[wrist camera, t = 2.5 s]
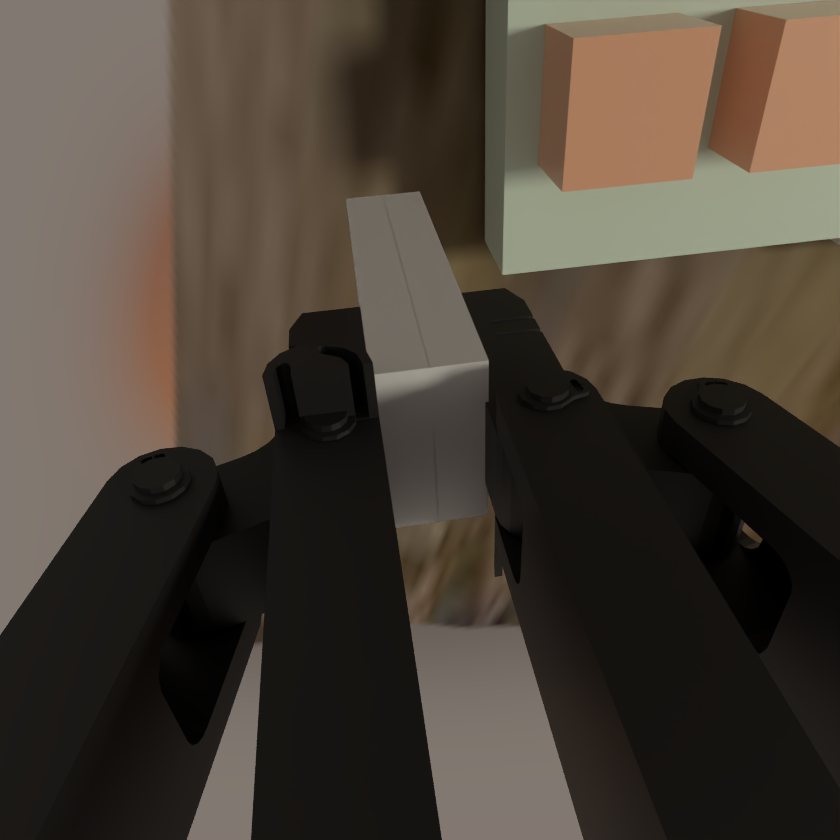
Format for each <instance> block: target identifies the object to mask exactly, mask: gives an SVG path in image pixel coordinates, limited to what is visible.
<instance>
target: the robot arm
mask: <svg viewBox="0 0 840 840" xmlns="http://www.w3.org/2000/svg"><path fill="white" fill-rule="evenodd" d="M346 203H347V211H348V219H349V227H350V235H351V243H352V251H353V259H354V267H355V275H356V283H357V291H358V299H359V307H354V308H345V309H337V310H328V311H319V312H310V313H302V314H301V316H300V317H299V318H298V319H297V321H296V322H295V323H294V325H293V326H292V327H291V328H290V330H289V350H287V351H285V352H282V353H280V354H279V355H278V356H276V357H275V358H274V359H273V360H272V361H271V362H269V363H268V364H267V366H266V369H265V371H264V373H263V375H262V377H263V381H264V385H265V389H266V394H267V398H268V402H269V406H270V410H271V414H272V419H273V423H274V427H275V437H274V438H273V439H272V440H271V441H270V442H269V443H267V444H266V445H264V446H263V447H261V448H260V449H258V450H257V451H255V452H252V453H250V454H248V455H246V456H243V457H241V458H238V459H235V460H232V461H230V462H227V463H224V464H221V465H218V466H216V465H215V462H214V460H213V458H212V457H210V456H209V455H207V454H206V453H204V452H202V451H201V450H198V449H192V448H186V447H175V448H165V449H159V450H156V451H153V452H150V453H148V454H144V455H141V456H139V457H137V458H136V459H134V460H132V461H131V462H129V463H127V464H126V465H124V466H122V467H121V468H120V469H119V470H118V471H117V472H116V473H115V474H114V475H113V476H112V477H111V478H110V479H109V480H108V481H107V482H106V484H105V485H104V487H103V488H102V489H101V491H100V492H99V494H98V495H97V497H96V498H95V500H94V501H93V503H92V504H91V505H90V507H89V508H88V510H87V511H86V512H85V514H84V515H83V517H82V518H81V520H80V521H79V523H78V524H77V525H76V527H75V528H74V530H73V531H72V533H71V534H70V536H69V537H68V539H67V540H66V541H65V543H64V544H63V546H62V547H61V549H60V550H59V552H58V553H57V554H56V556H55V557H54V559H53V560H52V561H51V563H50V564H49V566H48V567H47V569H46V570H45V571H44V573H43V574H42V576H41V578H40V579H39V580H38V582H37V583H36V584H35V586H34V587H33V589H32V590H31V592H30V593H29V595H28V596H27V597H26V599H25V600H24V602H23V603H22V605H21V606H20V608H19V609H18V610H17V612H16V613H15V615H14V616H13V618H12V619H11V620H10V622H9V623H8V625H7V626H6V628H5V629H4V631H3V632H2V633H1V635H0V840H187V837H188V834H189V831H190V828H191V825H192V822H193V820H194V816H195V814H196V810H197V808H198V805H199V802H200V799H201V796H202V793H203V790H204V788H205V784H206V782H207V779H208V776H209V773H210V770H211V767H212V764H213V761H214V758H215V756H216V752H217V750H218V746H219V744H220V741H221V738H222V735H223V732H224V729H225V726H226V723H227V721H228V717H229V715H230V712H231V709H232V706H233V703H234V700H235V697H236V694H237V691H238V688H239V685H240V683H241V680H242V677H243V674H244V671H245V668H246V665H247V662H248V659H249V657H250V654H251V651H252V648H253V645H254V642H255V639H256V636H257V633H258V630H259V627H260V625H261V616H262V614H263V613H265V614H264V630H263V647H262V664H261V682H260V699H259V715H258V732H257V750H256V766H255V784H254V800H253V817H252V835H251V840H442V838H441V831H440V824H439V818H438V811H437V804H436V797H435V791H434V785H433V777H432V770H431V763H430V757H429V750H428V743H427V737H426V730H425V723H424V716H423V709H422V703H421V696H420V690H419V682H418V676H417V669H416V662H415V656H414V648H413V642H412V635H411V628H410V621H409V615H408V608H407V601H406V594H405V588H404V581H403V574H402V567H401V561H400V554H399V547H398V540H397V534H396V528H397V527H404V526H411V525H419V524H426V523H433V522H440V521H448V520H455V519H462V518H469V517H476V516H484V515H488V493H489V496H490V499H491V502H492V505H493V508H494V512H495V555H494V569H495V577H497V576H502V566H503V569H504V573H505V576H506V579H507V583H508V586H509V590H510V593H511V596H512V600H513V603H514V606H515V610H516V613H517V617H518V620H519V623H520V627H521V630H522V633H523V637H524V640H525V644H526V647H527V650H528V654H529V657H530V660H531V664H532V667H533V670H534V674H535V677H536V680H537V684H538V687H539V691H540V694H541V697H542V701H543V704H544V707H545V711H546V714H547V717H548V721H549V724H550V728H551V731H552V734H553V738H554V741H555V745H556V748H557V751H558V754H559V758H560V761H561V765H562V768H563V772H564V775H565V778H566V781H567V785H568V788H569V792H570V795H571V798H572V802H573V805H574V808H575V812H576V815H577V819H578V822H579V825H580V829H581V832H582V836H583V838H584V840H840V447H838V446H837V445H835V444H834V443H833V442H831V441H830V440H828V439H827V438H825V437H824V436H823V435H821V434H820V433H818V432H817V431H815V430H814V429H812V428H811V427H810V426H808V425H807V424H805V423H804V422H802V421H801V420H799V419H798V418H797V417H795V416H794V415H792V414H791V413H789V412H788V411H786V410H785V409H784V408H782V407H781V406H779V405H778V404H776V403H775V402H774V401H772V400H771V399H769V398H768V397H766V396H765V395H763V394H762V393H760V392H758V391H756V390H754V389H752V388H750V387H748V386H746V385H744V384H740V383H737V382H733V381H729V380H726V379H720V378H697V379H691V380H684V381H682V382H680V383H678V384H676V385H674V386H672V387H671V388H670V389H669V391H668V392H667V393H666V395H665V396H664V399H663V404H662V408H653V407H640V406H627V405H620V404H613V403H609V402H605V401H604V400H603V399H602V397H601V395H600V394H599V392H598V390H597V389H596V388H595V387H594V386H593V385H592V384H591V383H590V382H589V381H588V380H587V379H585V378H583V377H581V376H579V375H577V374H575V373H573V372H570V371H565V370H563V368H562V367H561V365H560V363H559V361H558V359H557V358H556V356H555V354H554V352H553V351H552V349H551V347H550V345H549V344H548V342H547V340H546V338H545V336H544V335H543V333H542V332H540V328H539V326H538V324H537V322H536V321H535V319H533V315H532V313H531V312H530V310H529V308H528V306H527V305H526V303H525V301H524V300H523V299H521V298H520V297H518V296H516V295H515V294H513V293H512V292H510V291H508V290H507V289H505V288H502V289H493V290H484V291H475V292H466V293H461V291H460V289H459V287H458V284H457V282H456V279H455V277H454V274H453V272H452V269H451V267H450V265H449V262H448V260H447V257H446V255H445V252H444V250H443V247H442V245H441V243H440V240H439V238H438V235H437V233H436V230H435V228H434V225H433V223H432V221H431V218H430V216H429V213H428V211H427V208H426V206H425V203H424V201H423V199H422V196H421V194H420V191H418V192H409V193H399V194H389V195H379V196H370V197H360V198H350V199H346ZM744 522H745V523H746V524H747V525H748V526H749V527H750V528H751V529H752V530H754V531H755V532H756V533H757V534H758V535H759V536H760V537H761V538H762V539H763V540H762V542H761V543H758V542H756V541H754V540H753V539H751V538H750V537H749V536H748V535H747V534H746V533H744V532H743V531H742V528H743V525H744Z"/></svg>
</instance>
